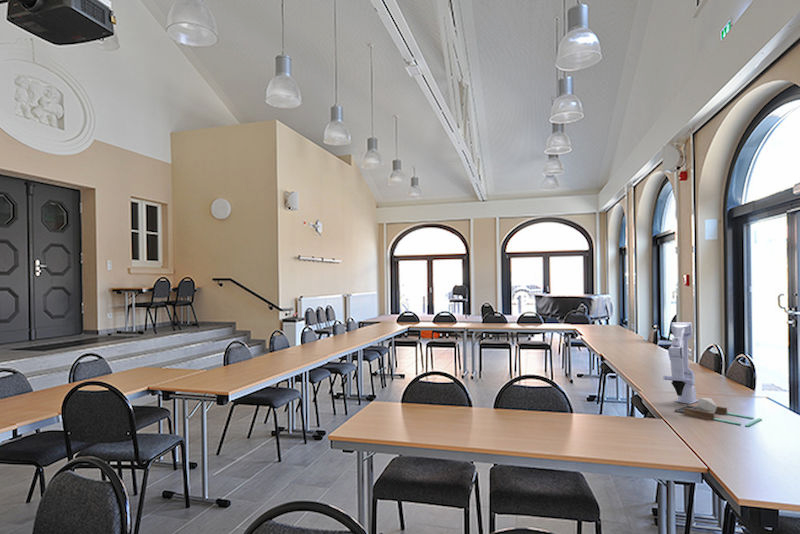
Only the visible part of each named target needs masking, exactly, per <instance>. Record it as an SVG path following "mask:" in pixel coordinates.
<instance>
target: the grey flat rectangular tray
mask: <svg viewBox="0 0 800 534" xmlns="http://www.w3.org/2000/svg"><path fill="white" fill-rule="evenodd" d="M684 408H689V409H695V410H698V409H697V407H696V406H692V405H689V404H688V405H687V404H686V405H683V406H681V407H679V408H676V409H674V413H675V412H676V413H681V414H685V412H684Z"/></svg>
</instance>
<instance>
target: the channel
mask: <svg viewBox="0 0 800 534" xmlns="http://www.w3.org/2000/svg"><path fill="white" fill-rule="evenodd" d="M716 406H717V408H716V411H715V413H717V414H722V415H727V414H726V413H728V408H727V407H726V406H721V405H720V406H719V405H716ZM684 412H685V413H684V416H685V415H687V416H691V417H697V418H701V417H702V418H701V419H706V420H711V421H714V420H713V419H714V418H716V417H715V413H711V412H705V411H700V410H698V409H689V408H684Z"/></svg>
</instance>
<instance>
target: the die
mask: <svg viewBox="0 0 800 534" xmlns="http://www.w3.org/2000/svg"><path fill="white" fill-rule="evenodd" d="M697 400H698V401H697V403H696V405H695V407H697V409H696V410H700V411H705V412H711V413H714V414H715V413H716V412H715V411H716V408H717V406H718V405H717V404H716V403H715V402H714V400H713V399H712V398H710V397H709V398H708V397H705V398H704V397H699V398H698V399H697Z"/></svg>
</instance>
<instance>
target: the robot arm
mask: <svg viewBox="0 0 800 534" xmlns="http://www.w3.org/2000/svg"><path fill="white" fill-rule="evenodd" d="M670 329H671V332H672V336H673V338H671V339H672V340H671V343H670V346H669V347H668V350H667V351H668V352H667V353H668V357H669V361H670V371H671V375H663V377H662V379H663V381H671V382H670V383H671V385H672V386H673V388H674V390H675V393H676V396H677V399H676V400H674V401H675V402H676V403H683V404H686V405H687V404H688V405H691V404H694V403H696V402H697V403H698V400H699V399H697V390H696V387H695V385H696V376H695V372H694V370H692V369H691V368H689V367H690V366H689V342H690V339H692V338H693V334H694V333H693V331H694V330H693V329H694V328H693V323H692V322H691V321H689V322H680V321H679V322H674V321H673V322H671V325H670Z"/></svg>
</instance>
